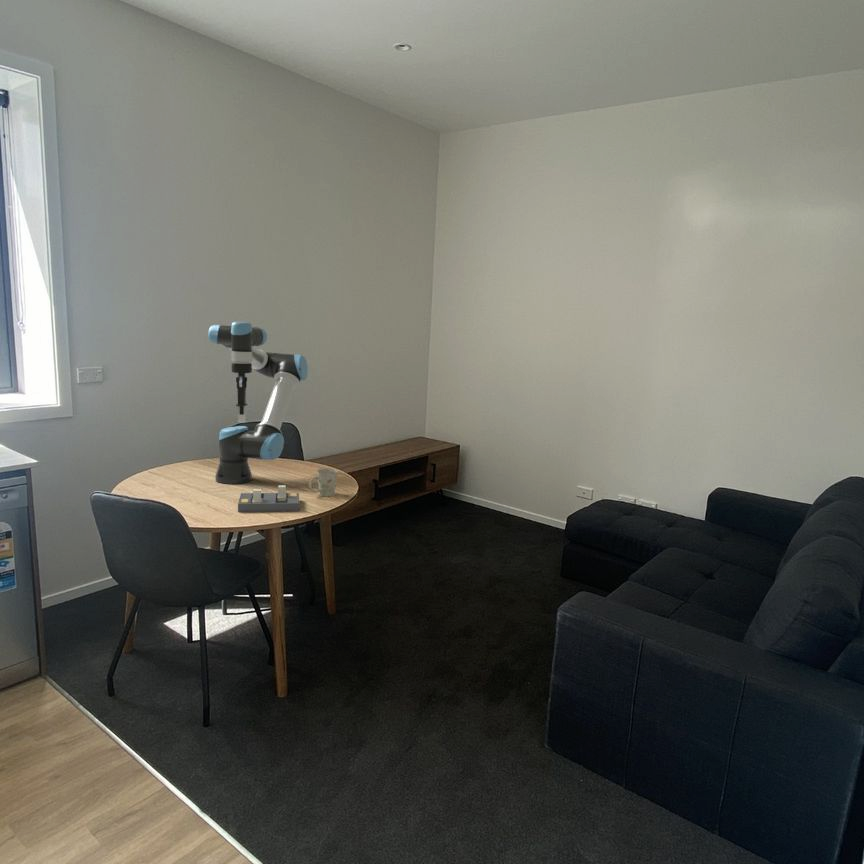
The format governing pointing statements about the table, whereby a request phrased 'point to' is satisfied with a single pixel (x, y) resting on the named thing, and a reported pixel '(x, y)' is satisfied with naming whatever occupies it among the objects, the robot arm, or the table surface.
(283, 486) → the tab
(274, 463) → the table surface
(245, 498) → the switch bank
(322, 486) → the mug
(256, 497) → the tab
